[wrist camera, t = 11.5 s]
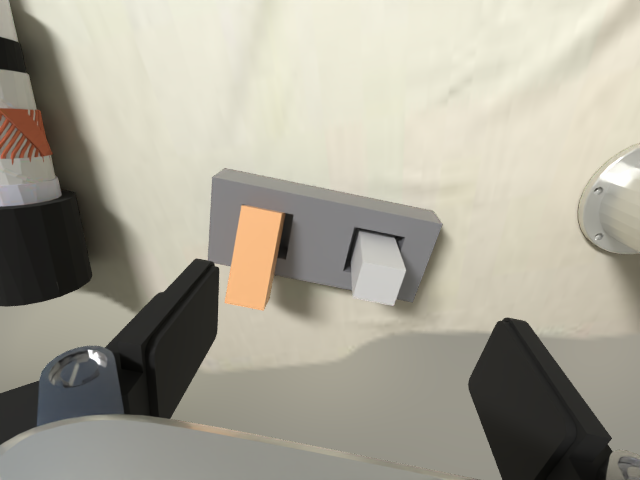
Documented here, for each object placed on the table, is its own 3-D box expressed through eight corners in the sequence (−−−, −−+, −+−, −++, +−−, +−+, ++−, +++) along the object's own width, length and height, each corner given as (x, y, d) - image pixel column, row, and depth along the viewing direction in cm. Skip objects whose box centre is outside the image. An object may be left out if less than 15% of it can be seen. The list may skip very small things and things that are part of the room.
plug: (281, 213, 32) (263, 310, 34) (285, 212, 36) (269, 298, 38) (241, 205, 32) (224, 302, 33) (250, 204, 36) (234, 291, 37)
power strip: (432, 210, 38) (461, 250, 29) (406, 283, 42) (424, 338, 33) (225, 168, 37) (187, 194, 28) (219, 246, 41) (185, 291, 32)
